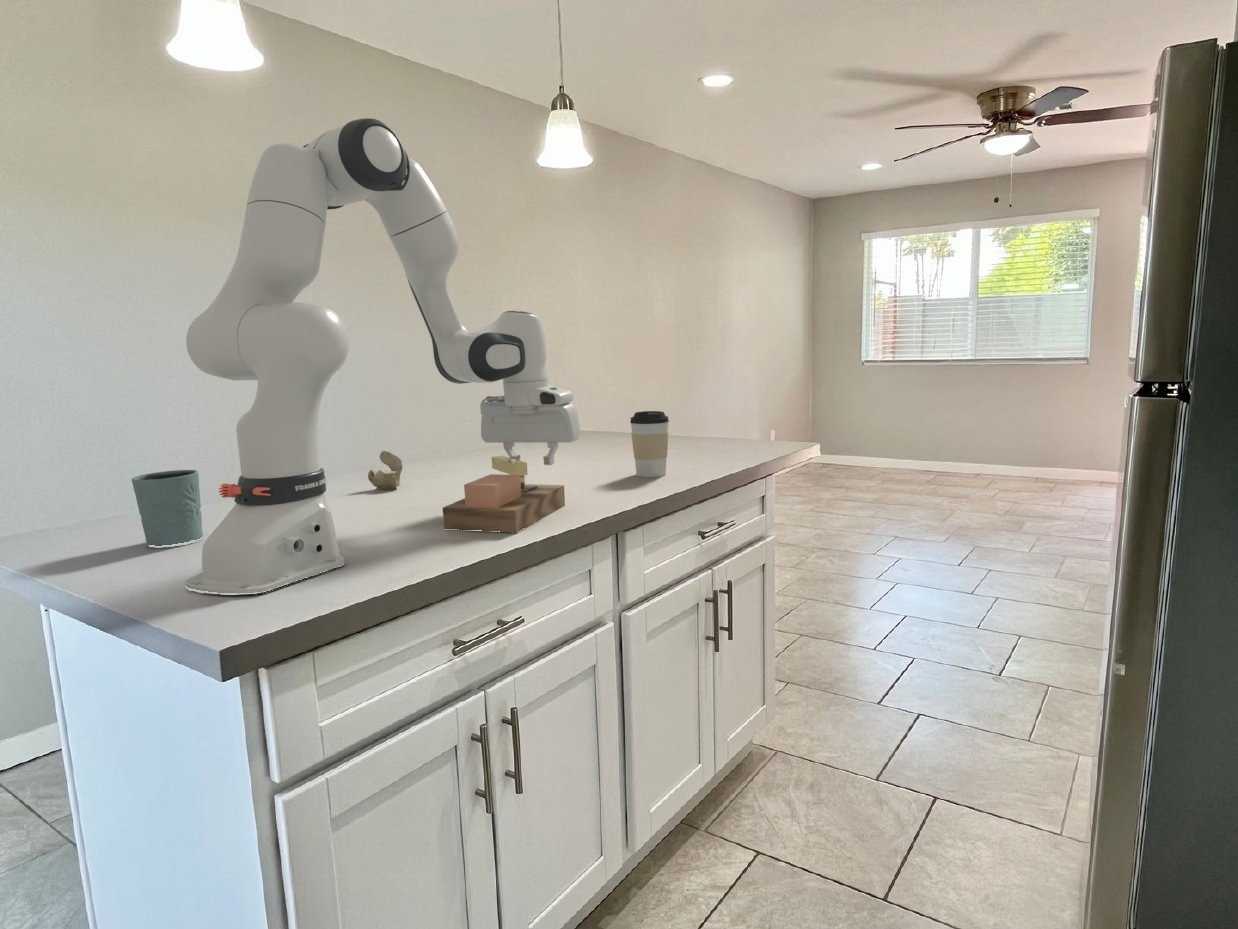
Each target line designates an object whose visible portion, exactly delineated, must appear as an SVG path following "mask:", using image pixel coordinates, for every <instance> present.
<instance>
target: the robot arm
mask: <svg viewBox="0 0 1238 929" xmlns="http://www.w3.org/2000/svg"><path fill="white" fill-rule="evenodd" d="M260 156H261V157H260V159H259V161H258V163H257V166H256V168H255V171H254V174H253V177H252V181H251V184H250V187H249V191H248V192H249V193H248V195H247V200H246V207H245V213H244V220H243V225H242V230H241V234H240V240H239V245H238V246H239V247H238V251H237V254H236V257H235V259H234V263H233V265H232V268H231V270H230V272H229V274H228V275H227V278H226V280H225V282H224V283H223V286H222V287H221V288H220V291H219V292H218V294H217V296H216V297H215V298H214V300H213V301H212V302H211V303H210V305H209V306H208V307H207V308H206V309H205V310H204V311H203V312H202V313H200V314H199V315H197V317H195V318H194V319H193V320H192V322H190V325H189V327H188V329H187V332H186V337H185V338H186V339H185V342H186V344H185V346H186V349H187V353H188V356H189V358H190V360H191V361H192V363H193V364H194V365H195V366H196V367H197V368H198V369H199V370H200V371H201V372H203V373H205V374H207V375H211V376H214V377H217V378H222V379H226V380H230V381H231V380H232V381H257V389H256V393H255V398H254V401H253V404H252V406H251V407H250V409H249V410H248V411H247V412H245V413H243V415H242V416H241V417H240V418H239V419H238V421H237V424H236V428H235V431H236V440H237V450H238V456H239V458H238V459H239V464H240V473H241V474H240V476H239V477H238V481H237V484H235V483H231V484H230V483H222V484H220V486H219V488H218V490H219V491H218V493H219V496H221V498H224V499H225V498H232V499H233V500H234V503H235V505H234V506H233V507H232V508H231V510H230V511H229V512H228V513H227V514H226V516H225V517H224V519H223V520H222V521H221V522H220V524H218V525H217V527H216V528H215V529H214V530H213V532H212V533H211V534H210V535H209V536H208V537H207V538H206V540H205V541H204V542H203V546H202V551H201V552H202V553H201V570H202V572H201V573H198V574H197V575H195V576H193V577H190V578H188V579H187V580H185V581H184V586H185V585H186V586H187V587H188V588H191V589H196V590H201V591H208V592H217V593H238V594H239V593H253V592H254V593H255V592H263V591H267V590H269V589H274V588H276V587H278V586H281V585H284V584H286V583H292V582H295V581H296V580H301V579H303V578H305V577H310V576H313V575H315V574H318V573H320V572H323V571H326V570H330V569H332V568H335V567H338V566H341V565H343V564H345V565H346V559H345V556H343V555H342V553H341V551H340V550H339V544H338V539H337V534H336V530H335V523H334V519H333V514H332V511H331V509H330V508H329V506H328V503H327V501H326V497H325V493H326V491H327V478H326V476H325V469H324V468H322V466H321V455H320V444H319V443H320V442H319V426H318V425H319V424H318V423H319V412H320V406H321V402H322V399H323V396H324V393H325V390H326V388H327V385H328V383H329V382H330V380H331V379H332V378H333V376H334V375H335V374H336V373H337V372H338V371H339V370H340V369H341V368H342V367H343V365H345V362H346V359H347V358H348V355H349V351H350V350H349V349H350V337H349V332H348V329H347V327H346V325H345V323H344V321H343V319H342V318H341V317H340V316H339V314H338V313H336V312H335V310H332V308H328V307H325V306H321V305H316V304H315V305H314V304H311V303H304V302H294V301H295V300H296V299H297V297H298V296H299V294H300V293H301V292H303V290H305V289H306V288H307V287H309V286H310V285H311V284H312V283H313V282H314V281H315V280H316V278H317V276H318V274H319V271H320V268H321V259H322V252H323V244H324V237H325V232H326V223H327V222H326V221H327V214H328V213H327V212H328V210H336V209H340V208H342V207H344V206H347V205H350V204H351V205H352V204H354V203H358V202H363V201H365V202H367V204H369V205H370V206H371V207H372V208H374V210H375V211H376V212H377V213H378V215H379V218H380V220H381V223H382V225H383V227H384V229H385V231H386V233H387V236H388V237H389V239H390V241H391V243H392V245H393V247H394V249H395V252H396V254H397V255H398V259H399V260H400V262H401V264H402V267H403V269H404V272H405V276H406V277H407V281H408V284H409V288H410V290H411V293H412V295H413V298H414V300H415V302H416V305H417V307H418V309H419V312H420V315H421V316H422V317H421V318H422V319H423V321H424V324H425V326H426V328H427V331H428V333H429V336H430V339H431V343H432V351H433V359H434V364H435V367H436V370H437V371H438V372H439V374H440V375H441V376H442V377H443V378H444V379H446V380H447V381H448V382H450V383H453V384H457V385H458V384H459V385H460V384H470V383H477V384H478V383H481V384H482V383H489V384H490V383H495V382H498V381H500V380H502V385H503V395H496V396H494V395H493V396H492V395H488V396H486V397H485V398H483V400H482V401H480V405H479V406H480V407H479V408H480V414H481V422H480V436H481V439H482V440H483V441H484V443H487V444H490V443H491V444H492V443H496V444H497V443H499V444H501V443H502V444H503V449H504V451H505V452H506V453H507V455H508V457H509V458H513V459H516V460H519V461H522V460H521V454H517V453H516V451H515V449H514V448H513V447H515V446H516V445H515V444H517V443H525V444H527V443H530V444H533V443H536V444H537V443H547V444H546V445H547V448H548V449H549V451H548V454H546V455H544V456H543V465H544V466H553V465H554V464H555V454H556V452H557V450H558V448H559V443H573V442H575V441H577V440H578V439H579V437H580V436H581V432H580V430H581V429H580V422H579V414H578V411H577V409H576V407H575V405H574V404H572V403H571V402H572V401H573V400H574V393H573V392H572V391H571V390H568V389H566V388H562V387H559V386H555V385H552V384H549V375H548V372H547V369H546V363H547V362H546V361H547V358H548V356H547V344H546V336H545V330H544V326H543V323H542V320H541V319H540V317H539V316H538V315H536V314H535V313H532V312H528V311H522V310H521V311H519V310H507V311H503V312H502V313H501V314H500V316H499V317H498V318H497V319H496V320H493V322H491V323H490V324H487V325H486V326H485V327H483V328H481V329H479V330H475V331H470V330H468V329H467V328H465V327H464V326H463V324H462V323H461V320H460V318H459V315H458V313H457V312H458V311H457V310H456V308H455V305H454V303H453V300H452V297H451V295H450V293H449V289H448V285H447V279H448V278H447V277H448V274H449V271H450V270H451V268H452V267H453V265H454V263H455V262H456V260H457V257H458V254H459V251H460V242H459V238H458V234H457V231H456V227H455V224H454V222H453V219H452V218H451V216H450V214H449V211H448V209H447V207H446V205H445V204H444V201H443V200H442V197H441V196H440V193H439V192H438V190H437V189H436V187H435V185H434V184H433V182H432V181H431V179H430V178H429V176H428V175H427V173H426V172H425V170H424V169H423V168H422V166H421V165H420V164H419V163H418V162H417V161H416V160H414V159H413V158H411V157H408V153H407V151H406V149H405V147H404V145H403V143H402V141H401V140H400V138H399V137H398V135H397V134H396V133H395V131H393V129H391V128H390V127H389V126H388V125H387V123H384V122H382V120H378V119H375V118H370V117H369V118H366V117H365V118H359V119H355V120H351V121H348V122H347V123H346V124H345V125H342V126H338V127H336V128H333V129H331V130H328V131H325V132H324V133H322V134H319V136H318V137H316V138H314V139H313V140H311V141H310V142H309V143H306V144H305V145H303V146H302V145H299V144H295V143H291V142H290V143H289V142H281V143H276V144H272V145H270V146H268V147H267V148H266V149H265V150H264V151H263V153H262V154H261V155H260ZM341 567H342V566H341ZM330 571H331V570H330ZM318 575H319V574H318ZM313 577H314V576H313ZM310 578H311V577H310ZM301 581H302V580H301ZM295 583H296V582H295Z"/></svg>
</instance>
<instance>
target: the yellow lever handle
mask: <svg viewBox="0 0 1238 929" xmlns="http://www.w3.org/2000/svg"><path fill="white" fill-rule="evenodd" d="M491 467H492V469H493V470H496V471H498V472H501V473H505V474H506V475H520V481H521V488H525V484H526V479H525V476H528V474H529V473H528V464H527V462H526V461H523V460H521V461H519V460H516V459H513V458H510V456H506V455H503V454H502V455H497V456H496V455H495V456H491Z"/></svg>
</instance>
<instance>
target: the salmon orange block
mask: <svg viewBox="0 0 1238 929" xmlns="http://www.w3.org/2000/svg"><path fill="white" fill-rule="evenodd" d="M463 487H464V489H463V490H464V491H463V492H464V498H465V505H466V507H473V508H499V507H501V506H503V505H505V504H507V503H509V502H511V501H513V500H515V499H517V498H519V497H521V481H520V475H510V474H499V473H498V474H496V473H495V474H493V473H492V474H491V473H490V474H488V475H486V476H483V477H480V478H478V479H475V480H473V481H470V482H467V483H465V484H464V485H463Z"/></svg>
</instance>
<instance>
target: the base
mask: <svg viewBox="0 0 1238 929" xmlns="http://www.w3.org/2000/svg"><path fill="white" fill-rule="evenodd" d="M565 498H566V497H565V485H563V484H562V485H561V484H534V483H533V484H531V483H530V484H529V483H525V488H521V497H519V498H517V499H515V500H513V501H511V502H509V503H507V504H505V505H503V506H501V507H499V508H473V507H466V505H465V497H464V498H463V499H460V500H457V501H454V502H452V503H450V504H448V505H446V506H445V505H444V506H443V507H442V519H443V530H444V529H457V530H458V529H459V530H482V531H497V532H498V531H500V532H513V533H512V534H518V533H519V532H518V531H520V530H522V529H523V528H525V529H527V528H528V526H529V525H530V526H532V525H533V524H532V523H534V522H535V521H537V522H539V521H540V519H541V518H542V519H544V518H545V516H546V515H547V516H549V515H551V514H553V513H554V512H556V511H557V510H559V509H562V508H563V507H565V505H566V501H565ZM547 516H546V517H547ZM543 517H544V518H543ZM542 519H541V520H542ZM538 520H539V521H538ZM535 523H536V522H535ZM535 523H534V524H535ZM531 524H532V525H531ZM530 526H529V527H530ZM526 527H527V528H526ZM457 530H456V531H457ZM523 530H524V529H523ZM523 530H522V531H523ZM497 532H496V533H497ZM517 532H518V533H517ZM520 532H521V531H520Z"/></svg>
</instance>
